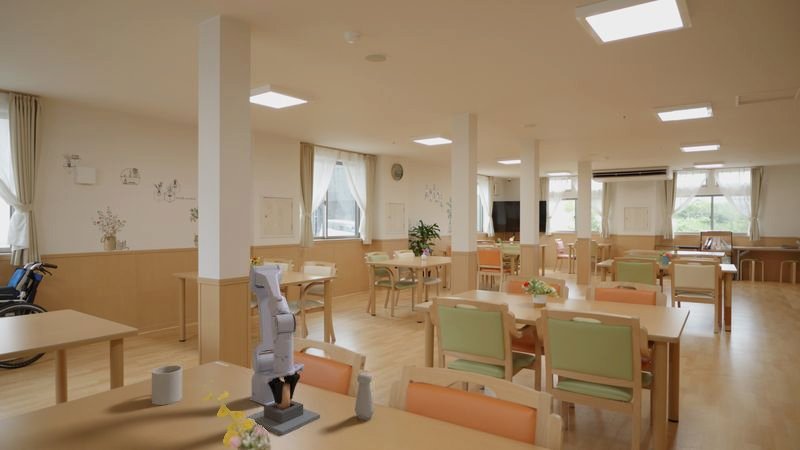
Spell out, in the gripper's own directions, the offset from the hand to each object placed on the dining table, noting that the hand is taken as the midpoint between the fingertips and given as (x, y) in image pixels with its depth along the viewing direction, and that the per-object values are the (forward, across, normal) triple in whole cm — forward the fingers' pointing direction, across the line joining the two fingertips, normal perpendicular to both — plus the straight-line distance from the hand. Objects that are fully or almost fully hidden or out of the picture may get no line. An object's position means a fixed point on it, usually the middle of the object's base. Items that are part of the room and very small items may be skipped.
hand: (283, 400), depth 134 cm
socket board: (+5, 0, 0) cm, 5 cm away
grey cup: (+6, -12, +44) cm, 45 cm away
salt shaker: (+6, +15, -18) cm, 24 cm away
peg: (+3, 0, 0) cm, 3 cm away
